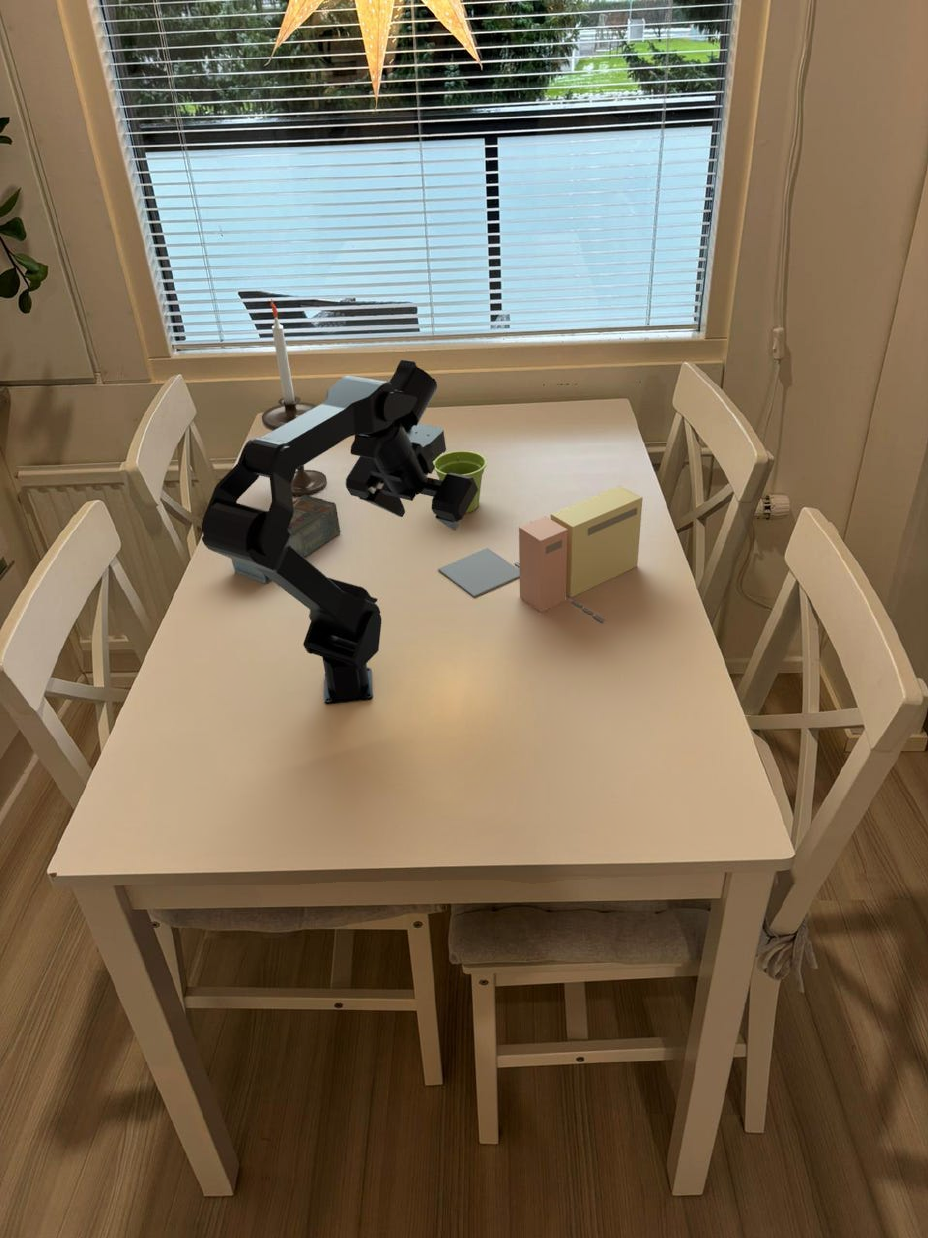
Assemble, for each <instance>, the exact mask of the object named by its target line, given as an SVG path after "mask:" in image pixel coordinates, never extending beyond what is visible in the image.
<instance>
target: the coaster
mask: <svg viewBox="0 0 928 1238" xmlns="http://www.w3.org/2000/svg"><path fill="white" fill-rule="evenodd" d="M437 570H438V571H439V572H440V573H442V574H443V575H444V576H445V577H446V578H447V579H449V580H450V581H451V582H454V583H455V584H456V585H457V586H459V588H461V589H463V590H464V591H465V592H466V593H468V594H469V595H470V596H472V597H473V598H476V597H479V596H480V595H481V596H482V594H485V593H487V592H490V591H492V590H494V589H497V588H499V587H501V586H503V585H505V584H507V583H510V582H512V581H514V580H517V579H520V570H519V567H516V565H513V564H512V563H510V562H509V561H507V560H506V559H504V558H503V557H502V556H500V555H499V554H497V553H495V551H493V550H491V549H490V548H488V547H487V548H484V549H481V550H479V551H477V552H475V553H472V554H470V555H467V556H465V557H463V558H460V559H458V560H456V561H453V562H450V563H448V564H446V565H443V566H442V567H439V568H437Z"/></svg>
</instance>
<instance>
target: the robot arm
mask: <svg viewBox="0 0 928 1238" xmlns="http://www.w3.org/2000/svg"><path fill="white" fill-rule="evenodd" d="M437 390H438V383H437V381H436V379H435V378H433V377H432V376H431V375H430V374H429V373H428V372H427V371H425V370H424V369H422V368H420V367H418V366H417V363H416V361H415V360H408V359H400V361H399V363H398V365H397V367H396V369H395V372H394V373H393V374H392V377H391V378H390V380H389V381H384V380H377V379H371V378H367V377H361V376H354V375H349V374H348V375H344V376H343V377H341V378H340V379H339V380H338V381H337V382H335V383H334V384H332V386H331V387H330V388H329V389H328V390H327V393H326V398H325V400H324V401H323V402H321V403H320V404H318V405H317V407H315V408H313V409H312V410H310V411H308V412H306V413H304V414H303V415H301V416H299V417H297V418H295V419H294V420H292V421H290V422H288V423H287V424H285V425H283V426H281V427H279V428H278V429H276V430H274V431H272V430H271V432H269V433H267V434H265V435H263V436H261V437H256V438H253V439H249V440H248V441H247V442H246V443H245V445H244V446H243V448H242V449H241V450H242V451H241V453H240V455H239V459H238V461H237V463H236V464H235V466H233V468H232V469H230V470H229V471H228V472H227V474H226V475H225V476H224V477H222V479H221V480H219V481H218V483H217V484H216V486H215V487H214V489H213V492H212V493H211V497H210V500H209V502H208V504H207V507H206V510H205V513H204V515H203V518H202V520H201V521H202V522H201V531H202V536H201V541H202V542H203V543H202V544H203V546H204V547H206V549H208V550H209V551H211V552H214V553H216V554H219V555H221V556H224V557H226V558H228V559H230V560H231V559H234V560H237V561H240V562H243V563H245V564H248V565H251V566H253V567H255V568H256V569H258V570H259V571H260V572H262V573H263V574H264V575H266V576H267V577H268V578H269V579H271V582H273V583H274V584H276V585H277V586H278V587H279V588H281V589H283V590H284V591H285V592H287V594H289V595H290V596H292V597H293V598H295V600H297V601H298V602H300V603H301V604H302V605H303V606H305V607H306V608H307V609H309V615H308V618H309V620H310V623H309V627H308V630H307V632H306V635H305V638H304V641H303V644H302V646H303V647H304V649H305V651H306V652H307V653H308V654H310V655H312V654H313V655H316V656H318V657H321V658H322V664H323V669H324V687H323V688H324V690H323V691H324V695H323V696H324V698H323V699H324V700H323V701H324V704H326V705H334V704H342V703H343V704H344V703H352V702H361V701H362V702H363V701H370V700H372V699H373V698H374V692H373V691H374V690H373V674H372V673H373V672H372V668H371V667H368V666H367V665H368V663H369V662H370V660H371V659H372V658H374V656H375V655H376V654H378V652H379V648H380V637H381V630H382V616H381V610H380V608H379V606H378V604H376V603H377V602H378V598H376V597H373V596H371V595H370V593H369V591H368V590H367V589H365V587H364V586H363V587H362V586H359V585H357V584H352V583H348V582H345V581H341V580H339V579H334V578H331V577H327V576H326V575H325V574H324V573H322V571H321V570H320V569H318V568H317V567H316V566H315V565H313V563H311V562H310V561H309V560H308V559H307V558H306V557H305V558H304V557H303V556H302V555H301V554H300V553H298V552H297V551H296V550H295V549H294V548H293V547H291V545H290V538H291V534H290V532H289V530H288V527H289V524H290V522H291V519H292V516H293V513H294V508H293V501H294V500H293V496H292V490H291V482H292V480H293V477H294V474H295V472H296V471H297V469H298V468H300V467H301V466H303V465H304V466H305V465H306V464H308V463H310V462H311V461H313V460H314V459H316V458H318V457H319V456H321V455H322V454H324V453H325V452H327V451H328V450H330V449H332V448H334V447H335V446H336V445H338V444H340V443H341V442H343V441H345V440H346V439H348V438H350V437H353V436H354V440H353V441H352V443H351V445H350V454H351V455H353V456H358V459H357V460H356V462H355V464H354V465H353V467H352V469H351V470H350V471H349V473H348V475H347V476H346V478H345V488H346V490H347V491H348V493H349V494H350V496H352V497H356V498H359V500H362V501H365V502H367V503H369V504H372V505H374V506H375V507H378V508H381V510H382V509H383V510H385V511H387V512H389V513H391V514H394V516H395V515H396V516H397V517H399V518H403V517H404V515H405V514H406V510H405V506H404V504H403V502H402V500H406V501H407V500H408V501H411V502H413V501H414V500H415V498H416V496H418V495H423V496H424V495H425V496H429V497H432V499H431V511H432V512H433V514H434V515H435V519H436V520H437V521H439V522H440V523H442V524H443V525H444V526H446V527H447V528H448V529H450V530H452V531H454V532H456V531H457V529H458V528H459V524H460V521H461V520H463V518H464V517H465V515H466V514H467V513H466V511H467V509H468V508H469V506H470V504H471V502H472V500H473V498H474V497H475V495H476V493H477V491H478V488H477V486H476V483H475V481H474V479H473V477H469V476H465V475H460V474H456V473H448V474H446V476H445V478H444V480H443V481H442V480H439V479H436V478H432V477H428V475H429V474H430V475H432V474H433V472H434V471H435V465H434V461H435V459H436V458H437V457H439V456H441V455H443V454H445V453H446V451H447V446H446V438H445V433H444V428H442V427H440V426H434V425H429V424H425V423H419V422H420V420H421V419H422V417H423V415H424V413H425V412H426V410H427V408H428V406H429V404H430V403H431V401H432V399H433V398H434V396H435V393H436V392H437ZM260 477H265V478H269V484H270V485H269V486H270V494H271V496H270V497H271V502H270V506H269V509H268V510H267V509H261V508H258V507H254V506H251V505H247V504H242V503H238V500H239V499H240V497H241V496H242V495H243V494H244V493H245V492H247V490H249V488H250V487H252V485H253V484H254V483H255V482H256V481H257V480H258V479H259V478H260Z"/></svg>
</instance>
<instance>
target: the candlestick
mask: <svg viewBox="0 0 928 1238" xmlns="http://www.w3.org/2000/svg"><path fill="white" fill-rule="evenodd" d="M269 304H270V306H271V308H272V310H271V311H272V315H273V318H274V320H273V321H274V323H273V325H272V326H271V330H272V335H273V343H274V348H275V353H276V359H277V367H278V371H279V379H280V384H281V390H282V396H283V397H282V398H280V399H279V400H278V402H277V403H279V404H278V405H275V406H272V407H270V408H268V409H266V410H265V411H264V412H263V413H262V415H261V422H262V425H263V427H264V428H265V429H267V430H270V431H271V432H272V431H274V430H276V429H278V428H279V427H281V426H283V425H285V424H287V423H288V422H290V421H292V420H294V419H295V418H297V417H299V416H301V415H303V414H304V413H306V412H308V411H310V410H312V409H313V408H315V407H317V406H318V405H317V404H315V403H310V402H303V401H301V398H300V397H299V396H295V394H294V393H295V392H294V388H293V382H292V375H291V369H290V363H289V355H288V350H287V343H286V339H285V338H286V337H285V331H284V325H282V324H280V321H279V319H278V310H277V307H276V304H274V302H273V298H271V299H270V303H269ZM327 484H328V481H327V475H325V473H324V472H322V471H319V470H315V469H305V465H303V466H301V467H300V468H298V469H297V470H296V472H295V474H294V477H293V480H292V482H291V490H292V497H301V496H303V495H304V494H306V495H309V496H311V495H314V494H317V493H319V492H321V491H323V490H324V489H325V488H326V487H327Z"/></svg>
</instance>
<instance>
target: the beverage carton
mask: <svg viewBox="0 0 928 1238" xmlns="http://www.w3.org/2000/svg"><path fill="white" fill-rule="evenodd" d="M293 508H294V513H293V516H292V519H291V522H290V524H289V527H288V530H289V532H290V534H291V538H290V545H291V547H293V548H294V549H295V550H296V551H297V552H298V553H300V554H301V555H302V556H303V557H304V558H305V559H306V558H307V557H308V556H310V554H312V553H313V552H314V551H316V550H317V549H319V548H320V547H322V546H323V545H325V544H326V543H328V542H329V541H331V540H332V539H333V538H335V537H336V536H338V535H339V534H341V533H342V532H341V528H340V527H341V526H340V521H339V515H338V509H337V504H336V503H335V502H332V501H327V500H324V499H322V498H320V497H319V498H318V497H315V496H311V495H306V494H304V495H303V496H299V497H298V498H296V499H294V500H293ZM230 560H231V563H232V566H233V568H234V572H235V573H236V574H239V575H242V576H245V577H247V578H249V579H253V580H255V581H258V582H260V583H263V584H268V583H270V582H272V580H271V579H269V578H268V577H267V576H266V575H264V574H263V573H262V572H260V571H259V570H258V569H256V568H255V567H253V566H251V565H248V564H245V563H243V562H240V561H237V560H234V559H231V558H230Z"/></svg>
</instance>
